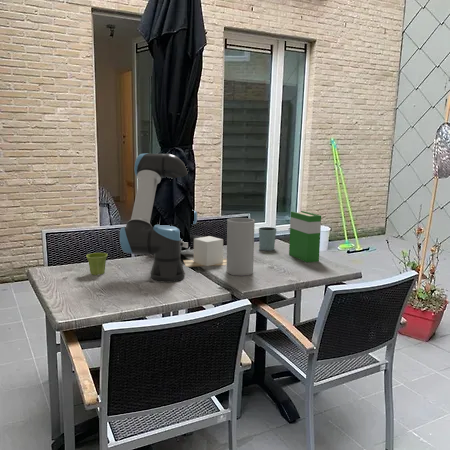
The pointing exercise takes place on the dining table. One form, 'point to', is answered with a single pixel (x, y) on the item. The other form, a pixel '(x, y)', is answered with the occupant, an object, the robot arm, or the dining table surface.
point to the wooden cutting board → (192, 264)
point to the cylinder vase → (240, 246)
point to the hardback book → (305, 236)
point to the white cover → (208, 250)
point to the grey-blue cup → (267, 238)
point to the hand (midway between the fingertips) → (198, 243)
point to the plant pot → (97, 263)
